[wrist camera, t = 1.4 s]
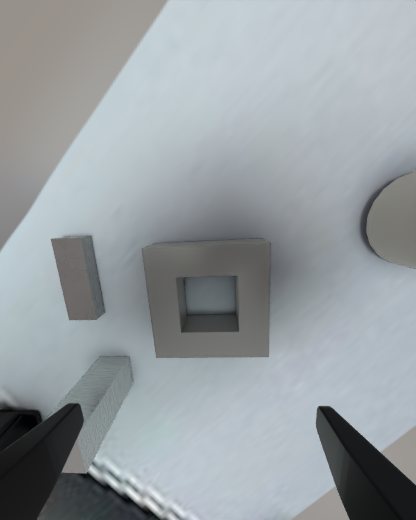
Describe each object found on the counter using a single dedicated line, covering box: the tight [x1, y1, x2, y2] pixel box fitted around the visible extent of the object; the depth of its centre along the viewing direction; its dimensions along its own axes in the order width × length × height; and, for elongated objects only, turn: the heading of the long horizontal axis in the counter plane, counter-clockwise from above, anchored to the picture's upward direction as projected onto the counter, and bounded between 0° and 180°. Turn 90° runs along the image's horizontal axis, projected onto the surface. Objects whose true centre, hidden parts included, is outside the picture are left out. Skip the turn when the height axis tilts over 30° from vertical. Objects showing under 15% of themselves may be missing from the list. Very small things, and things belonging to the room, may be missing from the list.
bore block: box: [142, 238, 271, 358], centre depth 17 cm, size 10×10×3 cm
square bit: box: [47, 356, 133, 473], centre depth 18 cm, size 3×3×8 cm
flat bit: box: [51, 236, 105, 320], centre depth 19 cm, size 8×3×2 cm, turn 3°
